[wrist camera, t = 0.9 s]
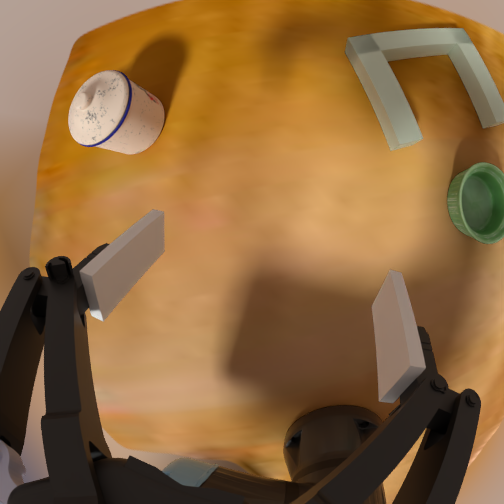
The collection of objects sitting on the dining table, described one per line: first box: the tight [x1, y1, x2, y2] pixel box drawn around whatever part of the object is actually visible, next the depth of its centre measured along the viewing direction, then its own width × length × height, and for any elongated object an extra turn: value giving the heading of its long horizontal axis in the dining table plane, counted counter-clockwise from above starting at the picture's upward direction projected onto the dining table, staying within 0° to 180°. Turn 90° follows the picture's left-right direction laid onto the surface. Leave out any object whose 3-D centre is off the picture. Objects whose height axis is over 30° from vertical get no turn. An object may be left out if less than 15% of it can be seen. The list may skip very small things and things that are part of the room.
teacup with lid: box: [68, 70, 164, 154], centre depth 28 cm, size 12×9×12 cm
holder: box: [345, 28, 504, 151], centre depth 24 cm, size 14×18×4 cm
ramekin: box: [447, 162, 504, 244], centre depth 25 cm, size 9×9×4 cm
